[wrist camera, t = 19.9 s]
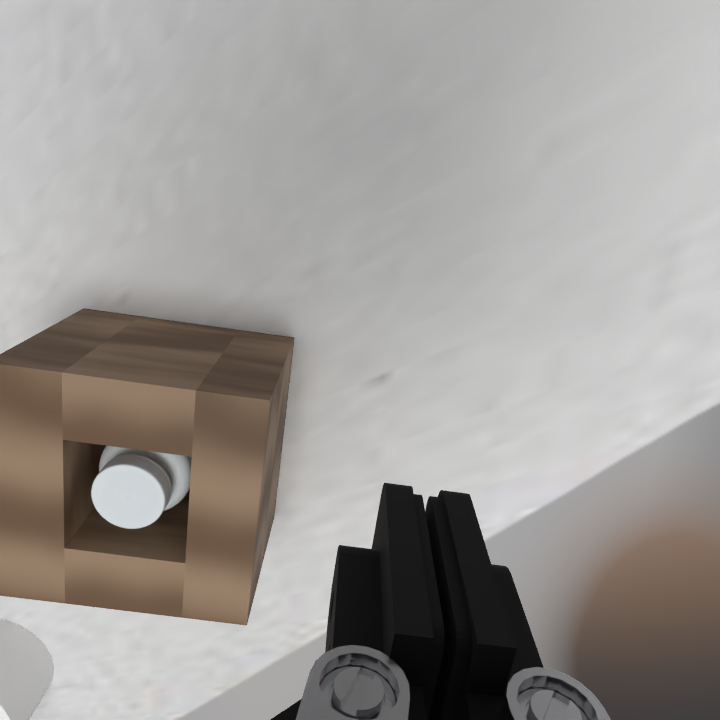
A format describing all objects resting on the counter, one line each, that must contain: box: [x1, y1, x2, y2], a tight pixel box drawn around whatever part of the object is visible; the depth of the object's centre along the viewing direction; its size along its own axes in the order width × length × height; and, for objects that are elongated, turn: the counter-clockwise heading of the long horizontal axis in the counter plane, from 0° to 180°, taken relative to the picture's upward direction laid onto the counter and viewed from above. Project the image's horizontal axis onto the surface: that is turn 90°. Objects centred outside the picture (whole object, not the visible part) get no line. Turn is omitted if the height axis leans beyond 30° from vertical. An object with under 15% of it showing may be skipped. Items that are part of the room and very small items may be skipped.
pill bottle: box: [91, 446, 192, 529], centre depth 37 cm, size 5×5×10 cm
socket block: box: [0, 309, 294, 625], centre depth 38 cm, size 14×14×11 cm
